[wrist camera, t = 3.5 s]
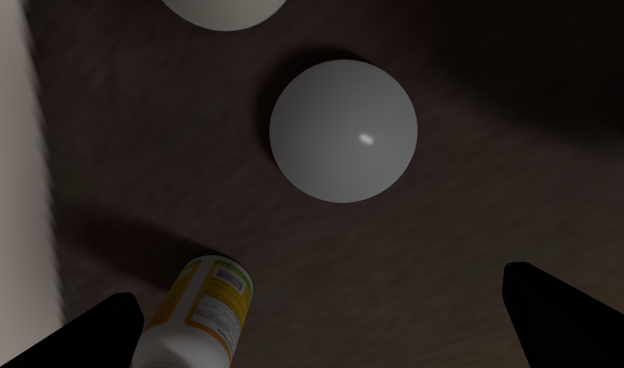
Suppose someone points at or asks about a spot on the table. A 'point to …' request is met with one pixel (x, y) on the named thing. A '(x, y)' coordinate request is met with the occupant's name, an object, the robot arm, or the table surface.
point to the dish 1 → (225, 12)
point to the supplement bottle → (198, 317)
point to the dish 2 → (343, 130)
